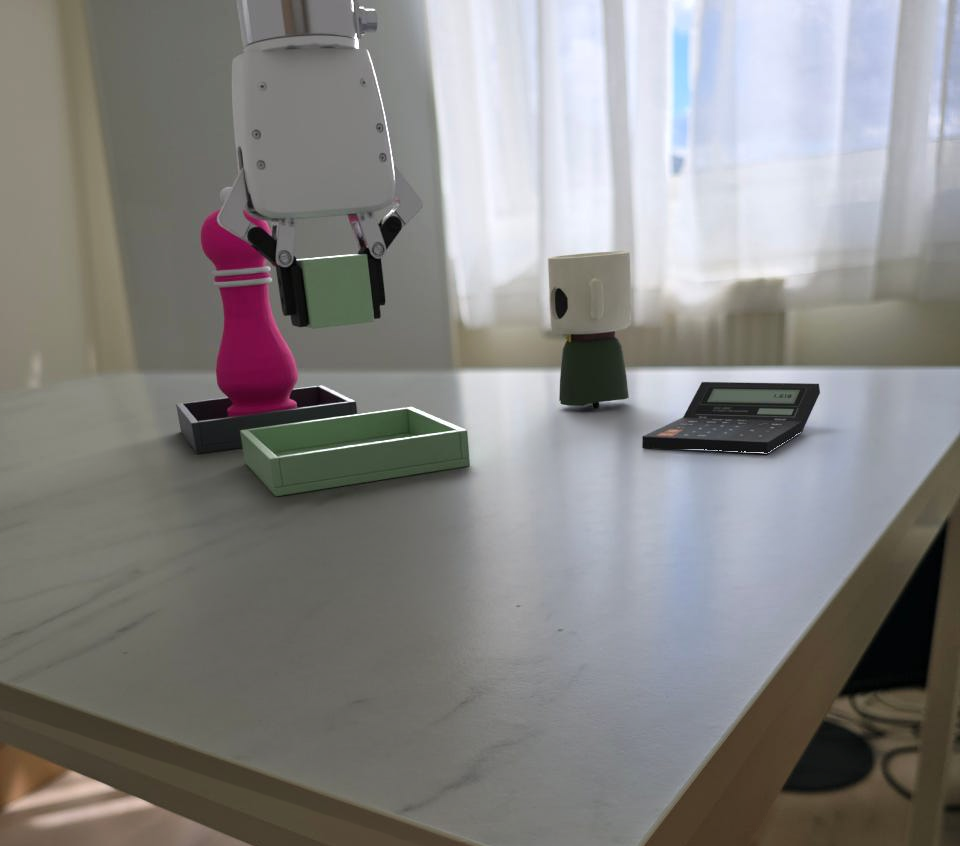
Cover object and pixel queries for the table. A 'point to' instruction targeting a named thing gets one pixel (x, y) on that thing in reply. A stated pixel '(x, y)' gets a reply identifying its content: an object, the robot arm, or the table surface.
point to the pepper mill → (247, 324)
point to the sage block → (337, 290)
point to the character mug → (591, 324)
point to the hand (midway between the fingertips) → (335, 319)
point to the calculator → (739, 417)
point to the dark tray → (254, 417)
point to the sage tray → (353, 449)
